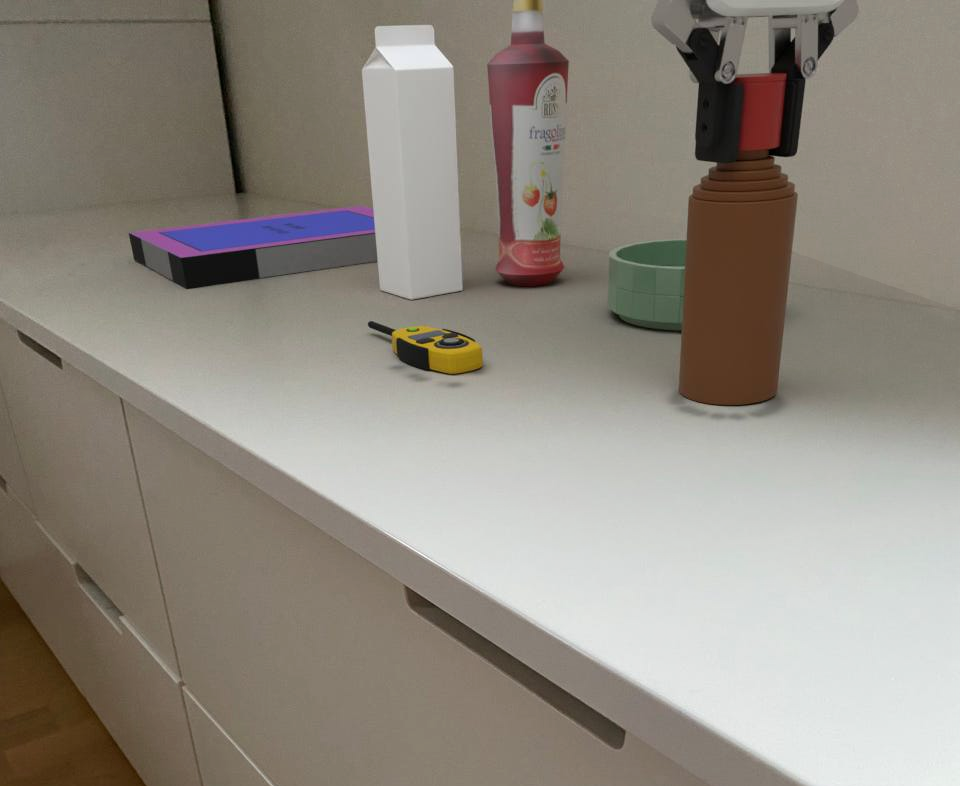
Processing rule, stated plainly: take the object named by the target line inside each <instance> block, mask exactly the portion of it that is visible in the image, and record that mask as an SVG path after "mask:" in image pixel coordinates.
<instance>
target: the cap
mask: <svg viewBox="0 0 960 786" xmlns="http://www.w3.org/2000/svg"><path fill="white" fill-rule="evenodd" d="M786 75H787V74H786V73H769V72H759V73H757V72H756V73H739V74H738V73H737V75H736V77H735V79H734V83H744V84H743V88H744V98H743V109H742V120H741V131H740V142H739V151H752V150H765V149H772V148H777V147H779V146H780V136H781V126H782V116H783V106H784V95H785V85H786Z"/></svg>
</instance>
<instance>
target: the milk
mask: <svg viewBox="0 0 960 786" xmlns="http://www.w3.org/2000/svg"><path fill="white" fill-rule="evenodd" d="M374 40H375V41H374V43H375V48H374V49H373V51H372V53H371V54H370V56H369V58H368V59H367V61H366V62H365V63H364V65H363V67H362V69H361V79H362V91H363V102H364V114H365V126H366V137H367V151H368V160H369V175H370V186H371V187H370V188H371V198H372V208H373V211H374V223H375V235H376V247H377V259H378V261H377V269H378V280H379V281H378V283H379V290H380V291H381V292H384V293H388V294H390V295H395V296H397V297H400V298H404V299H406V300H410V301H413V300H418V299H423V298H429V297H434V296H440V295H445V294H452V293H457V292H462V291H463V288H464V287H463V266H462V264H463V263H462V262H463V261H462V239H461V218H460V217H461V215H460V195H459V194H460V193H459V191H460V190H459V170H458V145H457V144H458V143H457V122H456V121H457V120H456V119H457V117H456V100H455V99H456V98H455V97H456V95H455V73H454V65H453V64H452V63H451V62H450V60H449V59H447V57H446V56H445V55H444V54H443V52H442V51H441V50H440V49H439V48H438V47H437V45H436V42H435V40H436V39H435V28H434V26H433V25H432V24H412V25H409V24H407V25H406V24H405V25H378V26H375V28H374Z"/></svg>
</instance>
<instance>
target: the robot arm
mask: <svg viewBox="0 0 960 786" xmlns="http://www.w3.org/2000/svg"><path fill="white" fill-rule="evenodd" d="M858 15H859V3H858V1H857V0H658V1H657V4H656V6H655V8H654V9H653V12H652V14H651V17H650V18H651V20H650V22H651V25H652V27H653V28H654V29H655V31H657V32H658V33H659V34H660V35H661V36H662V37H663V38H665V39H666V41H668V42H669V43H670V44H671V45H674V46H675V49H676V50H677V53H678V54H679V55H680V56H681V58H682V60H683V61H684V63H685V64H686V65H687V67H688V69H689V72H688V74H689V79H690V81H691V82H692V83H694V84H698V88H697V89H698V91H697V103H696V118H695V131H694V132H695V134H694V140H695V147H694V157H695V159H696V160H697V161H699V162H707V163H708V162H709V163H715V164H717V163H733V162H735V160H736V159H737V158H738V153H739V142H740V131H741V120H742V109H743V98H744V88H743V84H744V83H734V79H735V77H736V75H738V71H739V65H740V60H741V56H742V49H743V45H744V39H745V34H746V30H747V25H748V19H749V18H767V17H768V18H767V19H768V20H767V21H768V22H767V23H768V24H767V25H768V27H767V28H768V30H767V31H768V73H786V74H787V75H786V85H785V95H784V106H783V116H782V126H781V136H780V146H779V147H777V148H772V149H769V155H768V156H773V157H777V158H778V157H779V158H792V157H795V156H796V155H797V153H798V147H799V142H800V141H799V140H800V131H801V122H802V115H803V106H804V99H805V88H806V80H808V79H811V78H813V77H814V76H815V74H816V72H817V69H818V65H819V64H818V63H819V60H820V59H821V57H822V56H823V55H824V53H825V52H826V50H827V49H828V48H829V47H830V45H831V44H832V43H833V40H834V38H837V36H839V34H841V33H842V32H843V31H844V30H845V29H846V28H848V27H849V26H850V25H851V24H852V23H853V22H854V21H855V20H856V19H857V18H858ZM792 29H794V30H795V31H794V32H795V33H794V37H793V38H792ZM720 32H721V33H720ZM719 36H720V37H719ZM718 40H719V42H718Z"/></svg>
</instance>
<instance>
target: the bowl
mask: <svg viewBox="0 0 960 786" xmlns="http://www.w3.org/2000/svg"><path fill="white" fill-rule="evenodd" d="M686 240H687V238H673V239H672V238H670V239H669V238H667V239H655V240H646V241H640V242H633V243H629V244H625V245H621V246H618V247H615V248H614V249H612V250H610V251H609V252H608V276H607V277H608V280H607V309H608V310H610V311H611V312H613V313H614V314H616V315H617V316H618V318H619V319H621V320H622V321H623V322H624V323H627V324H630V325H634V326H637V327H641V328H647V329H653V330H663V331H675V332H678V331H680V332H682V317H683V297H684V278H685V259H686Z"/></svg>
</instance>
